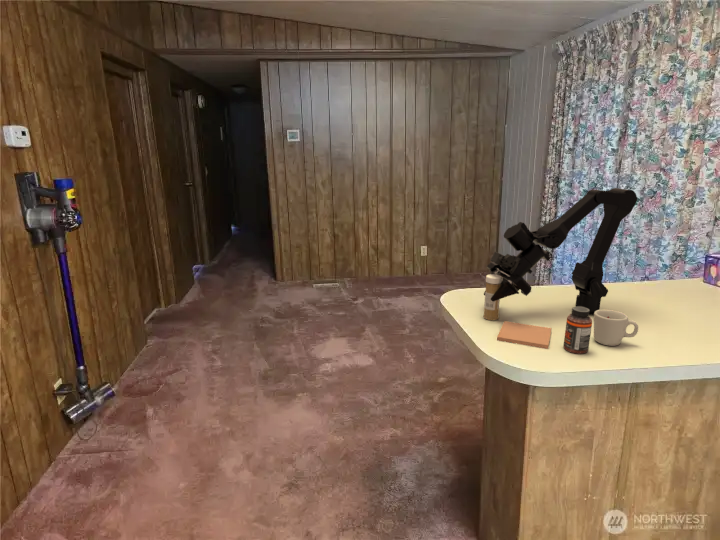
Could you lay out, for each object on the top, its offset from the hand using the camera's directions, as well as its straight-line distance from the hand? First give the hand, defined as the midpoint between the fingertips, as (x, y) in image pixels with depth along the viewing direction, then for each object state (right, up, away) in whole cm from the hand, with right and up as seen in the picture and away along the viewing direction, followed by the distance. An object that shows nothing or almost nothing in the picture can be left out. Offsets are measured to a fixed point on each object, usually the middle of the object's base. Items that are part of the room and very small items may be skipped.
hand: (488, 297), depth 143 cm
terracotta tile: (+7, -10, -11) cm, 17 cm away
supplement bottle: (+17, -12, -20) cm, 29 cm away
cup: (+29, -11, -16) cm, 35 cm away
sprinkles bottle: (+1, -6, +2) cm, 7 cm away
